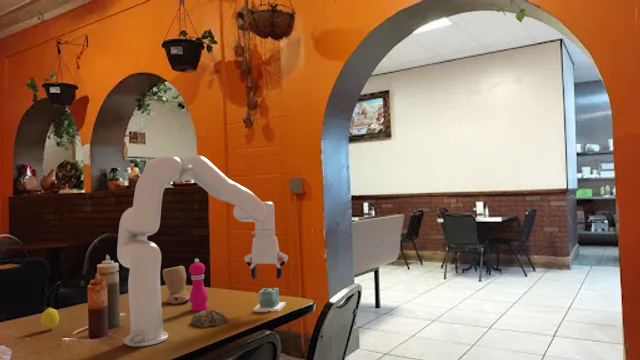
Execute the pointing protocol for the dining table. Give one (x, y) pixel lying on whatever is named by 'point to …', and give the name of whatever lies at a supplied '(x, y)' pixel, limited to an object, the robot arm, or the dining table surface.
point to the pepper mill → (198, 287)
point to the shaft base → (277, 308)
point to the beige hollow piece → (176, 284)
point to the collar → (269, 297)
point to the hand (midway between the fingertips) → (266, 278)
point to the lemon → (49, 318)
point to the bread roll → (209, 318)
